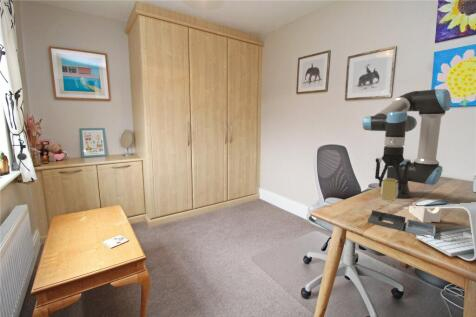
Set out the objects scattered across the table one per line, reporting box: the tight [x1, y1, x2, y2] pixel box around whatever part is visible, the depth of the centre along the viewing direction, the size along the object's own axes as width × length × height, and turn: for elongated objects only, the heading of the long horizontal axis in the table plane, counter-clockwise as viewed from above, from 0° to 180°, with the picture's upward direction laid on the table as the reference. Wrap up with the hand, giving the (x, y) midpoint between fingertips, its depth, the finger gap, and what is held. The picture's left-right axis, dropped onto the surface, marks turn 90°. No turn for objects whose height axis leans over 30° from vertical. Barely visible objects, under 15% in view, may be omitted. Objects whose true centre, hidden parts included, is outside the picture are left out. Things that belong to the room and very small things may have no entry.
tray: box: [405, 219, 436, 237], centre depth 104 cm, size 10×10×2 cm
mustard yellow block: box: [381, 177, 398, 202], centre depth 110 cm, size 5×5×10 cm
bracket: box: [408, 205, 443, 224], centre depth 117 cm, size 13×7×8 cm, turn 169°
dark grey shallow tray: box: [367, 209, 406, 232], centre depth 112 cm, size 10×14×3 cm
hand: (389, 194), depth 110 cm, fingers closed on mustard yellow block, 5 cm apart
